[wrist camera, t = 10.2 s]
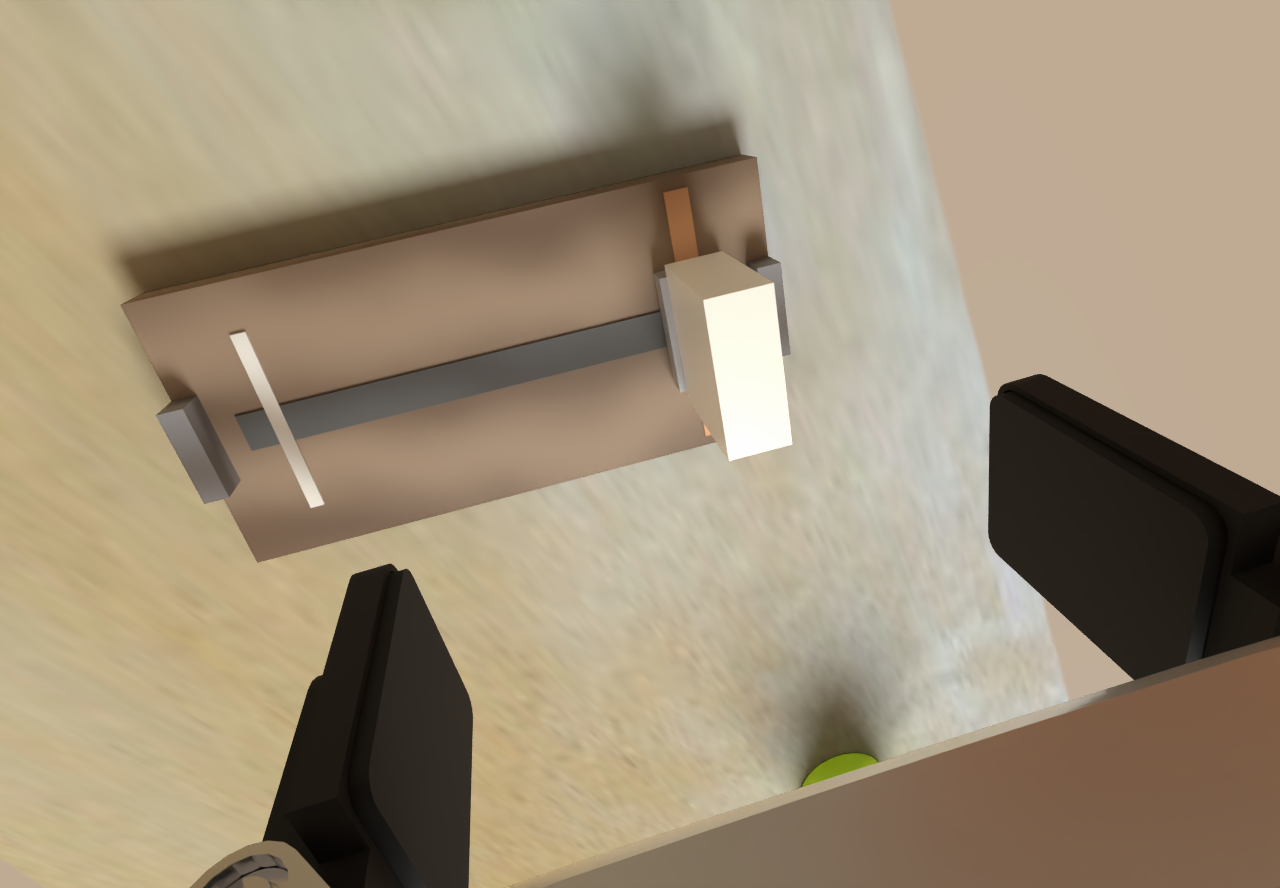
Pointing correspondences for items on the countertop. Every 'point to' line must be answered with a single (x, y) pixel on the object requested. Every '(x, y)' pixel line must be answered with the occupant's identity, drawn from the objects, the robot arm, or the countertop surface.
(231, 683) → the countertop surface
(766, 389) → the block
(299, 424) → the slider board
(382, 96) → the countertop surface
